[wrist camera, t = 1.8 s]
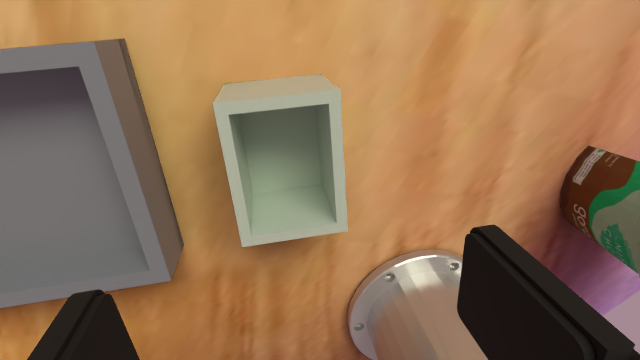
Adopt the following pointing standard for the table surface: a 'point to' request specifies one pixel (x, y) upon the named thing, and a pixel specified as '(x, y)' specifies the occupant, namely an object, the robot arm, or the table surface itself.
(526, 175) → the table surface
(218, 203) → the table surface
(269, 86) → the small crate
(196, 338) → the table surface
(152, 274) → the big crate
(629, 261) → the food container
